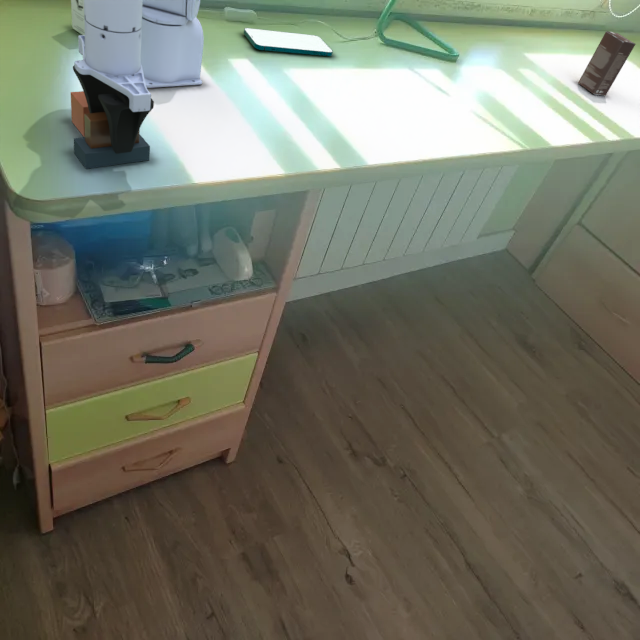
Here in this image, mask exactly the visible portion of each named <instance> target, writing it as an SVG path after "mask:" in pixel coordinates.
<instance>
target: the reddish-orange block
mask: <svg viewBox="0 0 640 640" xmlns="http://www.w3.org/2000/svg"><path fill="white" fill-rule="evenodd" d="M70 111H71V112H70V113H71V114H70V115H71V123H72V124H73V125H74V127H75V128H76V129H77V130H78V132H79V133H80V134H81V135H82V137H85V121H84V114H88V113H90V112H89V108H88V104H87V101H86V97H85V94H84V91H83V90H81V91H70Z"/></svg>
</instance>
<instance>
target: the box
mask: <svg viewBox="0 0 640 640" xmlns="http://www.w3.org/2000/svg"><path fill="white" fill-rule="evenodd" d="M598 43H599V44H598V45H597V47H596V48H595V50H594V52H593V55H592V56H591V58H590V60H589V61H588V64H587V65H586V67H585V69H584V71H583V73H582V75H581V76H580V79H579V80H578V81H577V83H578V84H579V85H580V86H581V87H583V88H584V89H586V90H587V91H589V92H590V93H591V94H593V95H594V96H606V95H608V93H609V91H610V89H611V88H612V86H613V84H614V82H615V80H616V79H617V78H618V76H619V74H620V72H621V70H622V68H623V66H624V65H625V64H626V61H627V60H628V58H629V57H630V55H631V53H632V52H633V49H634V48H635V47H636V45H637V44H636V43H635V42H634V41H632V40H630V39H628V38H627V37H625V36H624V35H622V34H620V33H617V32H613V31H608V30H606V31H605V33H604V34H603V36H602V38H601V40H600V42H598Z"/></svg>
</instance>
